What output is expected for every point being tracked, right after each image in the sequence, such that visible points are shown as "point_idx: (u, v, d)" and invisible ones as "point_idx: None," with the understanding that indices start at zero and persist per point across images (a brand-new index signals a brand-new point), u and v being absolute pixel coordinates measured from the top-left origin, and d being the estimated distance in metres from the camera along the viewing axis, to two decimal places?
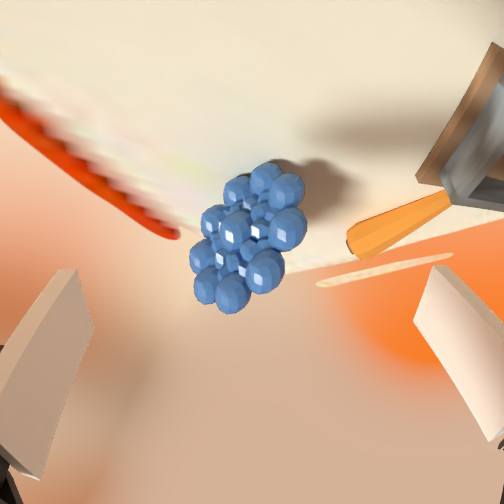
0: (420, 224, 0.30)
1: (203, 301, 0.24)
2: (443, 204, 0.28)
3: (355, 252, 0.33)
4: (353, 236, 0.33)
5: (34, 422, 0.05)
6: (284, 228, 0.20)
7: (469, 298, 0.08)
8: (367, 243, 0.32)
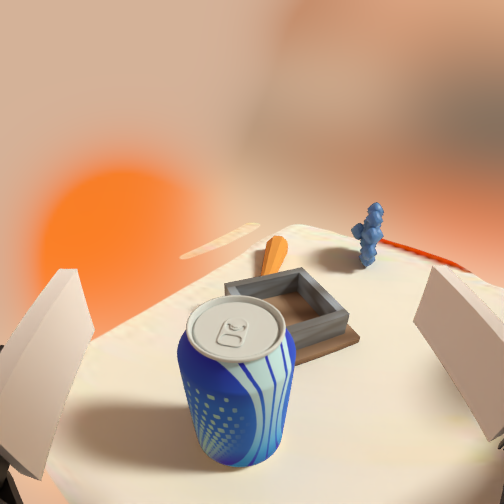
0: (269, 260, 0.55)
1: None
2: None
3: None
4: None
5: (34, 422, 0.05)
6: (377, 235, 0.53)
7: (469, 298, 0.08)
8: (284, 243, 0.60)
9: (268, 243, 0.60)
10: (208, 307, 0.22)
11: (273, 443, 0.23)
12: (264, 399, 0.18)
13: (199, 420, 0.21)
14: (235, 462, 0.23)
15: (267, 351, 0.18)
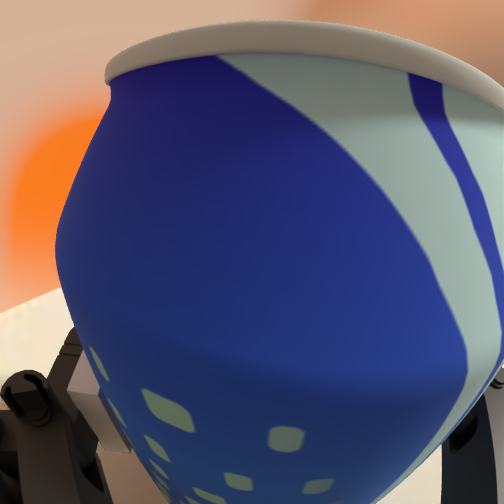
0: None
1: None
2: None
3: None
4: None
5: None
6: None
7: None
8: None
9: None
10: None
11: None
12: (473, 404, 0.03)
13: (153, 477, 0.05)
14: None
15: None
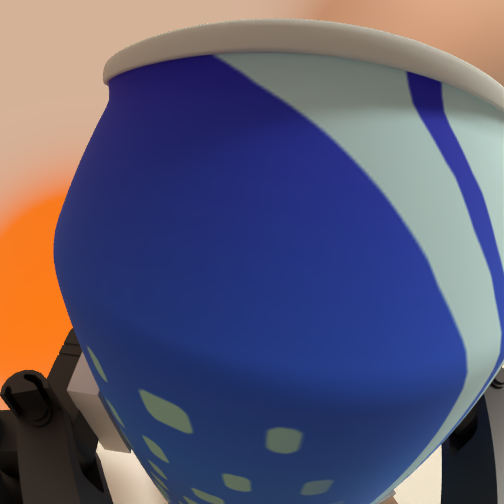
0: None
1: None
2: None
3: None
4: None
5: None
6: None
7: None
8: None
9: None
10: None
11: None
12: (473, 405, 0.03)
13: (152, 477, 0.05)
14: None
15: None
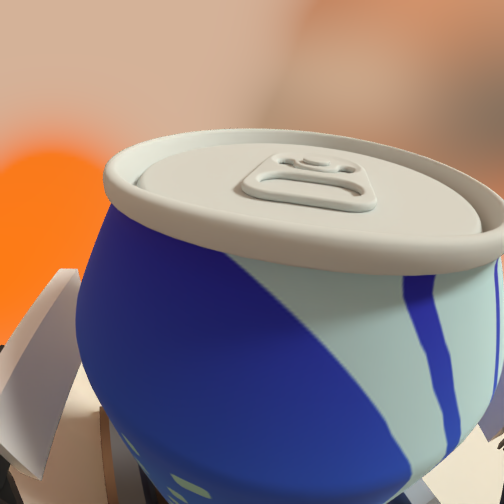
0: None
1: None
2: None
3: None
4: None
5: (34, 422, 0.05)
6: None
7: None
8: None
9: None
10: None
11: None
12: None
13: None
14: None
15: None
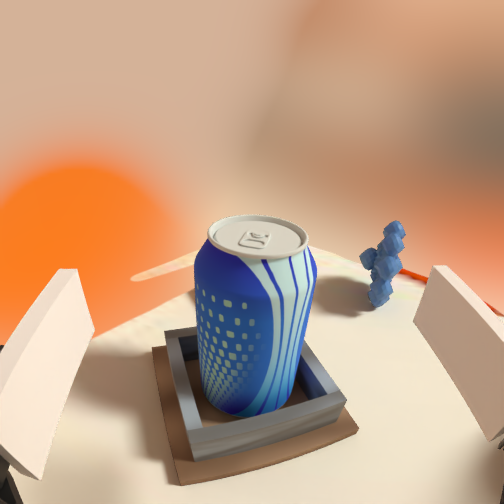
0: None
1: None
2: None
3: None
4: None
5: (34, 422, 0.05)
6: (396, 267, 0.37)
7: (469, 298, 0.08)
8: None
9: None
10: (230, 222, 0.22)
11: (285, 387, 0.23)
12: (284, 310, 0.18)
13: (209, 347, 0.21)
14: (242, 409, 0.23)
15: (291, 251, 0.18)
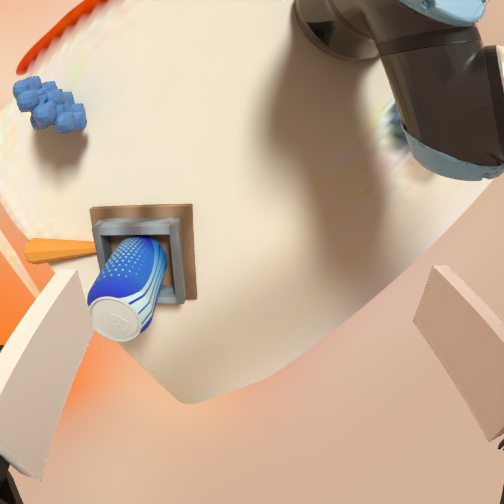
0: (65, 254, 0.44)
1: (17, 86, 0.24)
2: (83, 247, 0.44)
3: (24, 250, 0.41)
4: (29, 241, 0.42)
5: (34, 422, 0.05)
6: (69, 118, 0.30)
7: (469, 298, 0.08)
8: (32, 247, 0.42)
9: (39, 262, 0.43)
10: (95, 325, 0.33)
11: (160, 257, 0.42)
12: (152, 302, 0.35)
13: None
14: None
15: (137, 316, 0.32)
